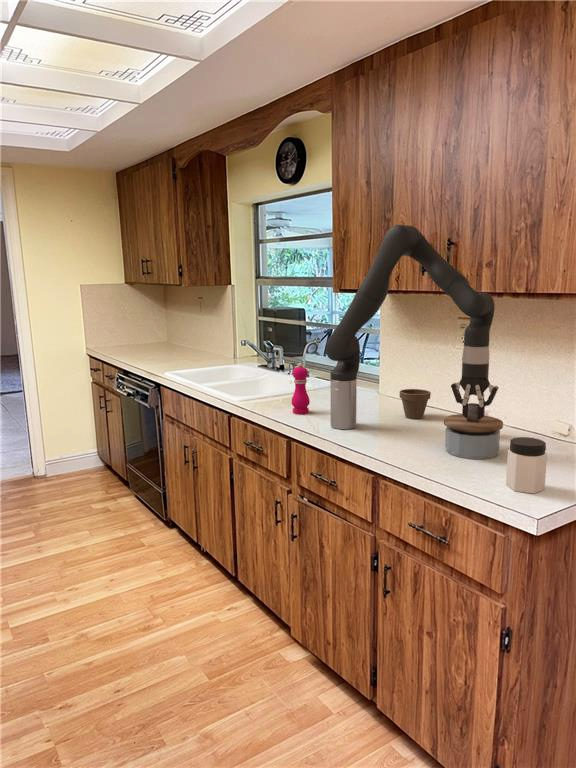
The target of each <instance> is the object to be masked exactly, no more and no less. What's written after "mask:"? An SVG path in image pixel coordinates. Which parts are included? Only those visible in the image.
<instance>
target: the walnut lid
mask: <svg viewBox="0 0 576 768" xmlns="http://www.w3.org/2000/svg"><path fill="white" fill-rule="evenodd" d="M479 407H480V406H479V403H475V402H471V403H469V402H468V404H467V418H464V416H463V415H462V413H459V414H458V413H457V414H450V415H447V416H445V417H444V418H443V422H442V423H443V425H444V427H449V428H452V429H455V430H460V431H467V432H493V431H498V430H500V431H501V430H502V429H503V428H504V422H503V421H502V419H500V418H497V417H494V416H489V415H488V416H485V415H484V417H483V418H482V419H478V411H479Z"/></svg>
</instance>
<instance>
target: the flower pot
mask: <svg viewBox="0 0 576 768" xmlns="http://www.w3.org/2000/svg"><path fill="white" fill-rule="evenodd" d="M431 394H432V393H431V391H429V390H426V389H419V388H406V389H401V390H399V398H400V400H401V402H402V408H403V412H404V416H405V417H406V419H411V420H420V418H421V419H422V418H423V417H424V415H425V412H426V408H427V404H428V402H429V400H431Z"/></svg>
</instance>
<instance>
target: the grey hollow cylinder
mask: <svg viewBox="0 0 576 768" xmlns="http://www.w3.org/2000/svg"><path fill="white" fill-rule="evenodd" d="M500 436H501V429H500V430H498V431H493V432H467V431H460V430H455V429H452V428H449V427H447V426H445V440H444V441H445V442H444V443H445V444H444V445H445V446H444V447H445V451H446V452H448V453H447V454H449V455H451V456H453V457H456V458H459V459H465V458H466V459H467V460H468V459H469V460H488V459H494V458H496V457H497V456H499V451H500V438H501V437H500Z"/></svg>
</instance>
